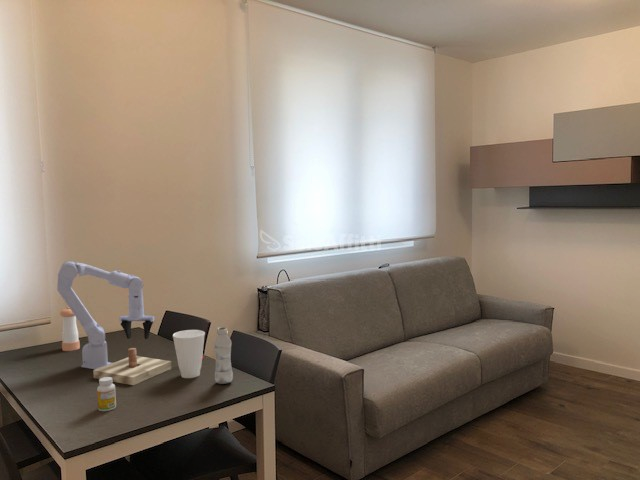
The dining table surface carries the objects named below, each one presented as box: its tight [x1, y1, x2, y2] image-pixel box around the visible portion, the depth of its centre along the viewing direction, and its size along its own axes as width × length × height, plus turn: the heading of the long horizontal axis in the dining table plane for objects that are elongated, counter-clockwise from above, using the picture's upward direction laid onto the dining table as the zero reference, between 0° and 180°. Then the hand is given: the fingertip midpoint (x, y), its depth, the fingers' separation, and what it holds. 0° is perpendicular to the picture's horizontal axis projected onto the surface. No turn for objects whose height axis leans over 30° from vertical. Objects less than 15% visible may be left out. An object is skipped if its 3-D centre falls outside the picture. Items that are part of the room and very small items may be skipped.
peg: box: [127, 347, 138, 368], centre depth 206 cm, size 3×3×10 cm
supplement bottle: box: [96, 377, 117, 412], centre depth 172 cm, size 5×5×10 cm
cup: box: [172, 329, 206, 379], centre depth 203 cm, size 12×12×16 cm
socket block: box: [92, 355, 172, 386], centre depth 207 cm, size 20×20×3 cm
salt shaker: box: [59, 306, 81, 352], centre depth 241 cm, size 7×7×19 cm
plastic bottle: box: [213, 326, 234, 385], centre depth 193 cm, size 6×7×20 cm
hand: (137, 338), depth 222 cm, fingers open, 7 cm apart
